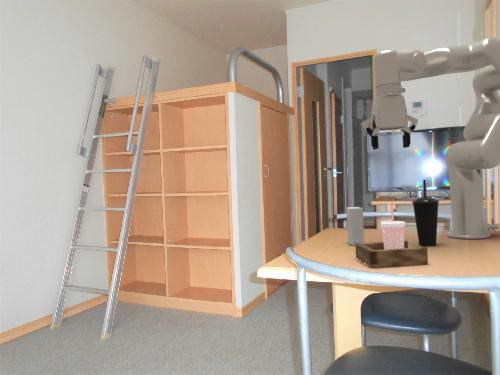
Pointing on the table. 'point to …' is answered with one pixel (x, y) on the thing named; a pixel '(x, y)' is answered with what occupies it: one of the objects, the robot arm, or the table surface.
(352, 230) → the skincare box
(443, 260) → the table surface
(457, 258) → the table surface
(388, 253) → the dark wooden tray
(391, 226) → the beverage cup
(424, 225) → the drinking cup
